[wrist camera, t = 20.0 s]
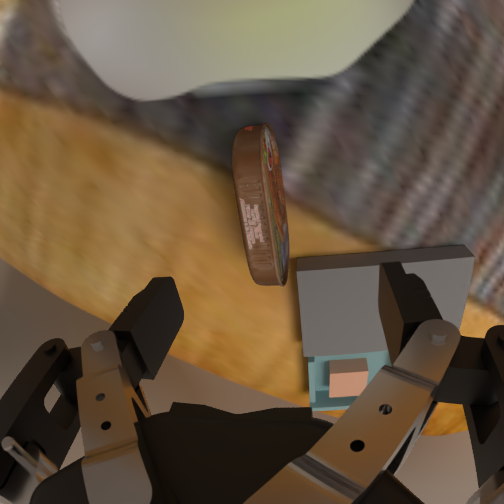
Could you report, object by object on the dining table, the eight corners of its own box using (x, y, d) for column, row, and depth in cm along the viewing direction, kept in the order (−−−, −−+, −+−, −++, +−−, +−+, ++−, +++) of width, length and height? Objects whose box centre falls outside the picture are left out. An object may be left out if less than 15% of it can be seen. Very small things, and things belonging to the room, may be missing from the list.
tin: (291, 260, 36) (288, 304, 28) (263, 261, 36) (252, 306, 29) (274, 119, 29) (266, 125, 22) (242, 124, 30) (223, 131, 22)
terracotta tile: (366, 357, 39) (368, 371, 37) (363, 381, 41) (364, 394, 39) (329, 360, 40) (329, 374, 38) (328, 384, 42) (329, 397, 40)
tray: (445, 328, 37) (454, 347, 33) (431, 377, 41) (437, 396, 37) (307, 341, 40) (307, 363, 37) (310, 390, 45) (309, 411, 41)
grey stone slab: (464, 244, 32) (475, 256, 29) (448, 326, 37) (455, 340, 34) (296, 257, 35) (296, 271, 33) (303, 340, 40) (303, 357, 38)
